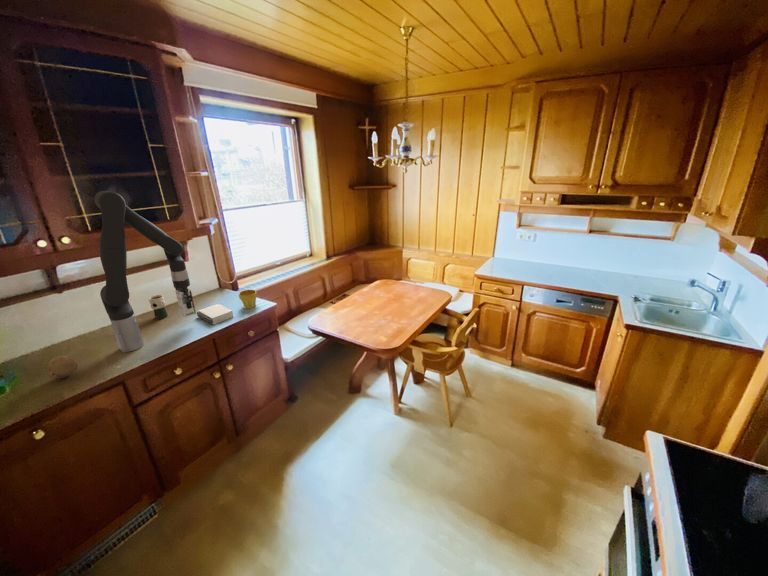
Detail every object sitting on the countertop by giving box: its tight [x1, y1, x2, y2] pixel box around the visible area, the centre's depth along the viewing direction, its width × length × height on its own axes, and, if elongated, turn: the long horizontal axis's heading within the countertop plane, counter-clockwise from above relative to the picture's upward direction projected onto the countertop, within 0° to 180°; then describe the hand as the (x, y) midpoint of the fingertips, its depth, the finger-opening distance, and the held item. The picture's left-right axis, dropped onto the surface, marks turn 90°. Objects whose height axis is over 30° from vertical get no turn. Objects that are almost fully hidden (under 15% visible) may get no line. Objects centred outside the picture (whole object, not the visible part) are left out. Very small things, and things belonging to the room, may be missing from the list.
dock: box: [196, 303, 234, 325], centre depth 187 cm, size 13×16×4 cm
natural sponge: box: [46, 355, 78, 379], centre depth 134 cm, size 9×9×10 cm
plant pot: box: [238, 289, 258, 309], centre depth 200 cm, size 10×10×10 cm
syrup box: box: [174, 288, 197, 318], centre depth 172 cm, size 6×6×14 cm
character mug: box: [148, 294, 168, 320], centre depth 184 cm, size 11×7×13 cm, turn 68°
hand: (186, 306), depth 173 cm, fingers closed on syrup box, 6 cm apart
